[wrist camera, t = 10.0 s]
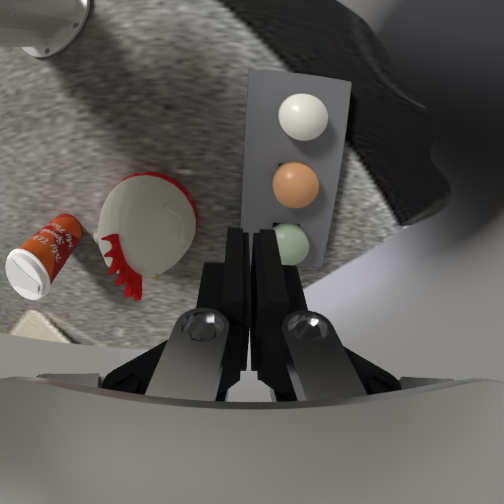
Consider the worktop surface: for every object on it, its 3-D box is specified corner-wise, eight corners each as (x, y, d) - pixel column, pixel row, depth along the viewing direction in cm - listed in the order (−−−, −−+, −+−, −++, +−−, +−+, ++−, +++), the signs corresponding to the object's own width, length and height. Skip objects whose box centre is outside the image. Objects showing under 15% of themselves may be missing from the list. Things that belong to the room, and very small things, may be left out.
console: (248, 70, 32) (249, 69, 29) (343, 82, 32) (351, 81, 30) (239, 253, 45) (238, 265, 42) (317, 256, 46) (321, 267, 43)
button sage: (266, 211, 40) (269, 228, 36) (304, 214, 40) (312, 230, 36) (263, 245, 43) (266, 265, 38) (299, 247, 43) (305, 266, 39)
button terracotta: (271, 153, 36) (275, 163, 32) (312, 156, 36) (321, 167, 32) (268, 192, 39) (271, 207, 34) (307, 194, 39) (315, 209, 35)
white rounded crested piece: (133, 267, 46) (102, 334, 33) (93, 193, 39) (39, 244, 26) (212, 242, 44) (200, 313, 31) (174, 156, 37) (139, 197, 24)
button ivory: (276, 90, 32) (281, 91, 27) (319, 95, 32) (330, 97, 28) (273, 131, 34) (277, 138, 30) (314, 135, 35) (325, 143, 30)
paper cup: (92, 219, 41) (48, 272, 29) (82, 256, 44) (44, 311, 33) (53, 199, 39) (2, 244, 27) (46, 236, 42) (2, 286, 30)
